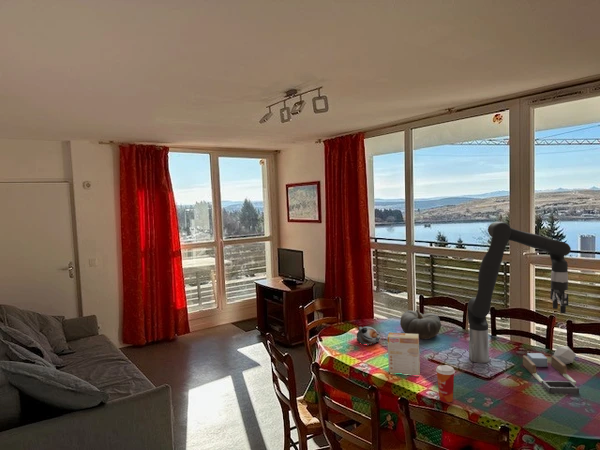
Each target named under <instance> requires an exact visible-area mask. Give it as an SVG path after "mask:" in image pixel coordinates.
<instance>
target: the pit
mask: <svg viewBox="0 0 600 450" xmlns="http://www.w3.org/2000/svg"><path fill="white" fill-rule="evenodd" d="M541 386H542V387H543V389H544V390H546V392H547V393H548V394H565V395H566V394H568V395H574V394H575V395H578V394H580V388H579V387H578V386H577V384H573V383H572V382H571V381H569V380H560V381H559V380H543V381H542V383H541Z"/></svg>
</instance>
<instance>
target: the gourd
mask: <svg viewBox="0 0 600 450" xmlns="http://www.w3.org/2000/svg"><path fill="white" fill-rule="evenodd" d="M399 324H400V327H401V329H402V331H403V333H408V334H418V335H419V340H420V339H421V340H429V339H432V338H434V337H435V336H437V335H438V334H439V332H440V330H441V327H442V322H441V319H440V317H439V316H438V315H437V314H436V313H434V312H433V313H432V312H428V313H421V312H419V309H417V310H406V311H405V312H404V313H402V315H401V316H400V320H399Z"/></svg>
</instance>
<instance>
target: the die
mask: <svg viewBox="0 0 600 450" xmlns="http://www.w3.org/2000/svg"><path fill="white" fill-rule="evenodd" d="M552 356H555V357H556V358H558V359H559V360H560V361H561V362H563V363H564V364H565V365H568V364H569V365H571V364H570V363H572V364H573V362H574V360H575V358H576V356H577V354H576V353H575V352H574V351H573V350H572V349H571V348H570V347H569V346H568V345H566V346H565V345H564V346H556V349H555V352H554V354H553V355H552Z"/></svg>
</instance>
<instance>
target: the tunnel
mask: <svg viewBox="0 0 600 450" xmlns="http://www.w3.org/2000/svg"><path fill="white" fill-rule="evenodd" d="M550 358H551V359H550V361H551V367H553V369H554V370H556V371H557V372H558V373H559V374H560V375H562V376H563V374H567V364H564V363H563V362H561V361H560V360H559V359H558V358H556V357H555V356H553V355H551V357H550ZM522 366H523V367H524V368H525V369H526V370H527V371H528V372H529V373H530V374H531V375H532V376H533V373H536V374H537V367H536V365H535V364H534V363H533V362H532V361H531V360H530V359H529V358H528V357H527V355H522Z"/></svg>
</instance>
